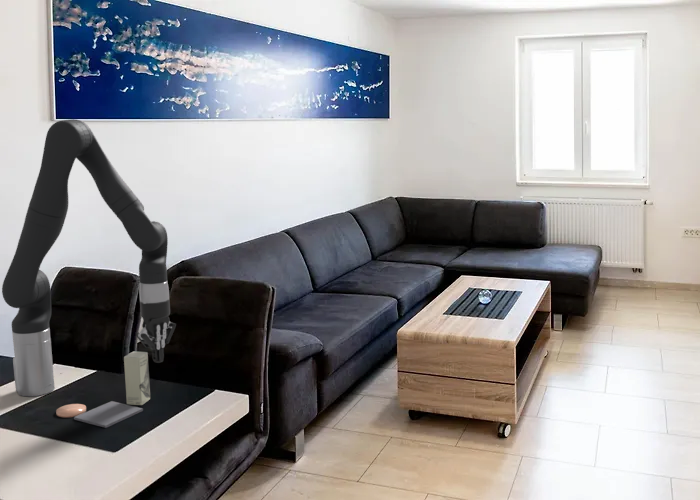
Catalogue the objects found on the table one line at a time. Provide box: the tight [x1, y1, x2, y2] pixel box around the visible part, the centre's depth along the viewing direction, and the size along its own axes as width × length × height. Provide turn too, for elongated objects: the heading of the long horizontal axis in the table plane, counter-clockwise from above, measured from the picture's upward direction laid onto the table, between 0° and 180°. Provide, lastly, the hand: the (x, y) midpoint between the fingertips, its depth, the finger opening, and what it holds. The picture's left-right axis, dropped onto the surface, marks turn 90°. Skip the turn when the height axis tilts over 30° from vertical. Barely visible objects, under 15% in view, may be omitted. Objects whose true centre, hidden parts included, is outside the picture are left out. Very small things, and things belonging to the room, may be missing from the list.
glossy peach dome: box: [55, 403, 87, 418], centre depth 187 cm, size 7×7×1 cm
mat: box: [73, 400, 144, 429], centre depth 185 cm, size 11×12×1 cm
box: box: [123, 351, 151, 406], centre depth 192 cm, size 5×4×13 cm
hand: (158, 361), depth 199 cm, fingers closed
